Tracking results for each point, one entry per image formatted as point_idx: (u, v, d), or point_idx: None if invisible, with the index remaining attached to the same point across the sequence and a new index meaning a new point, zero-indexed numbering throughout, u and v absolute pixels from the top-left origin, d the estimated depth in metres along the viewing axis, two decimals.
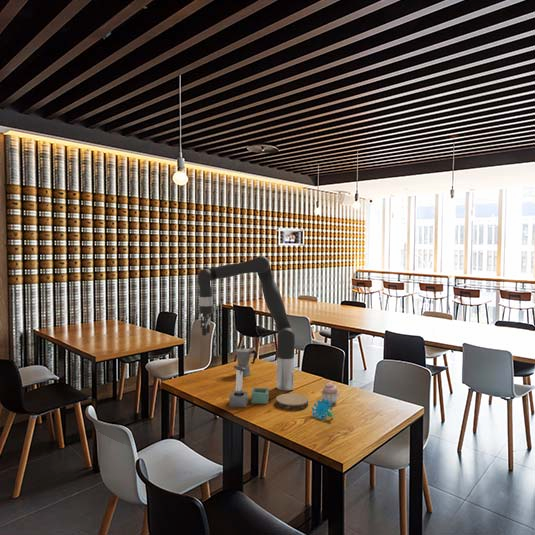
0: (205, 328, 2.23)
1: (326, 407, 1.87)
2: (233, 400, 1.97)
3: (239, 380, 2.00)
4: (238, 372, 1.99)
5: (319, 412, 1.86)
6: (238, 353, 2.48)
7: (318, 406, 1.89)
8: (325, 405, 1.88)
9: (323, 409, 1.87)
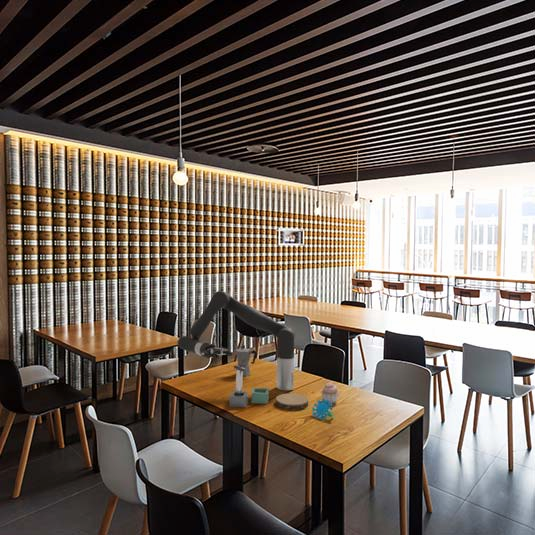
0: (212, 353, 2.08)
1: (326, 407, 1.87)
2: (233, 400, 1.97)
3: (239, 380, 2.00)
4: (238, 372, 1.99)
5: (319, 412, 1.87)
6: (238, 353, 2.48)
7: (318, 406, 1.89)
8: (325, 405, 1.88)
9: (323, 409, 1.87)
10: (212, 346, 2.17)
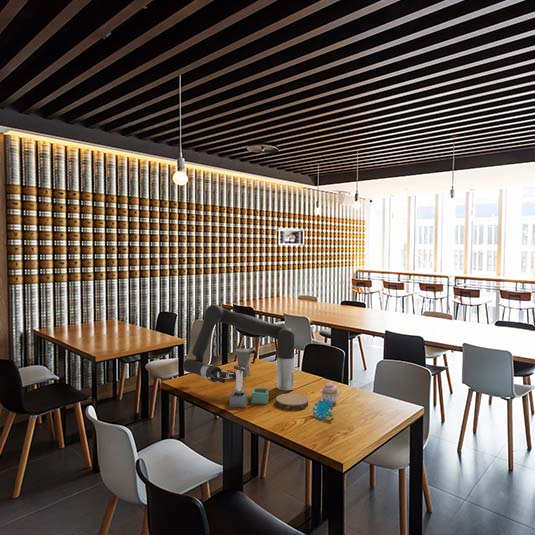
0: (218, 377, 2.04)
1: (327, 407, 1.87)
2: (233, 400, 1.97)
3: (239, 380, 2.00)
4: (238, 372, 1.99)
5: (320, 412, 1.87)
6: (238, 353, 2.48)
7: (319, 406, 1.89)
8: (326, 405, 1.88)
9: (324, 409, 1.87)
10: (218, 369, 2.14)
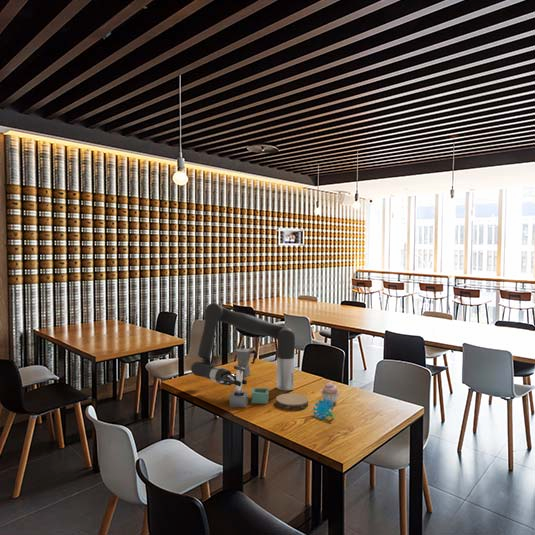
0: (234, 380, 2.00)
1: (327, 407, 1.87)
2: (233, 400, 1.97)
3: (239, 380, 2.00)
4: (238, 372, 1.99)
5: (320, 412, 1.87)
6: (238, 353, 2.48)
7: (319, 406, 1.89)
8: (326, 405, 1.88)
9: (324, 409, 1.87)
10: (228, 372, 2.09)
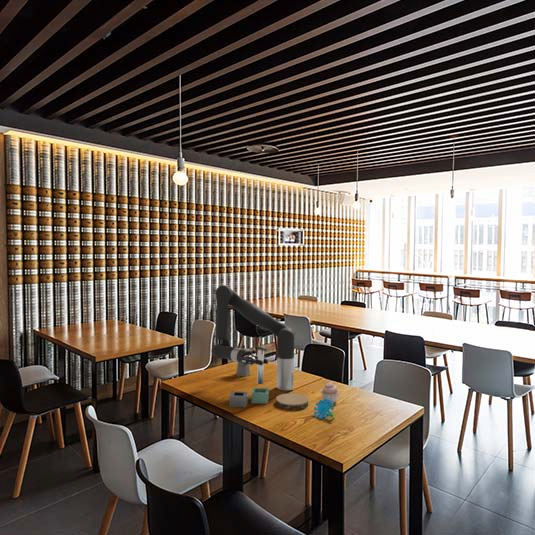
0: (255, 360, 2.05)
1: (327, 407, 1.87)
2: (233, 400, 1.97)
3: (261, 359, 2.05)
4: (260, 352, 2.05)
5: (320, 412, 1.87)
6: None
7: (320, 406, 1.90)
8: (327, 405, 1.88)
9: (324, 409, 1.87)
10: (249, 353, 2.14)
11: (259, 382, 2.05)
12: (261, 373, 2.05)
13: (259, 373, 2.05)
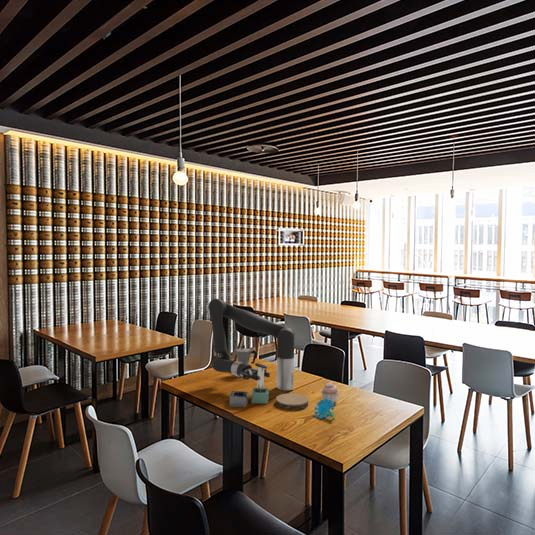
0: (251, 375, 2.05)
1: (328, 407, 1.87)
2: (233, 400, 1.97)
3: (261, 377, 2.05)
4: (260, 369, 2.05)
5: (321, 411, 1.87)
6: (238, 353, 2.48)
7: (320, 405, 1.90)
8: (327, 405, 1.88)
9: (325, 409, 1.87)
10: (249, 367, 2.14)
11: None
12: (261, 390, 2.06)
13: (259, 390, 2.06)
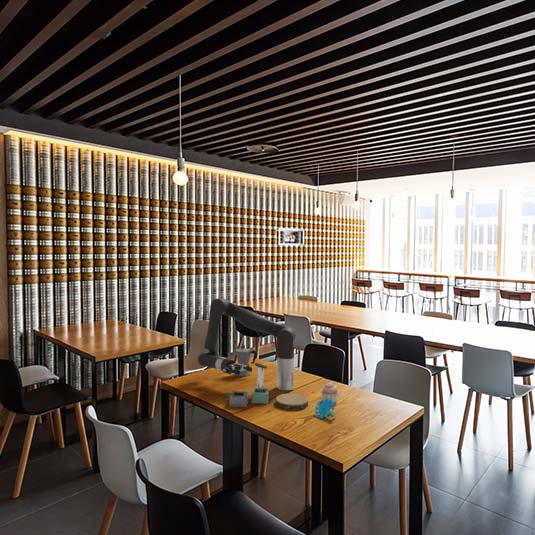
0: (233, 369, 2.13)
1: (328, 407, 1.87)
2: (233, 400, 1.97)
3: (261, 377, 2.05)
4: (259, 369, 2.05)
5: (321, 411, 1.87)
6: (238, 353, 2.48)
7: (321, 405, 1.90)
8: (328, 405, 1.88)
9: (325, 409, 1.87)
10: (233, 362, 2.23)
11: None
12: (261, 390, 2.06)
13: (259, 390, 2.06)
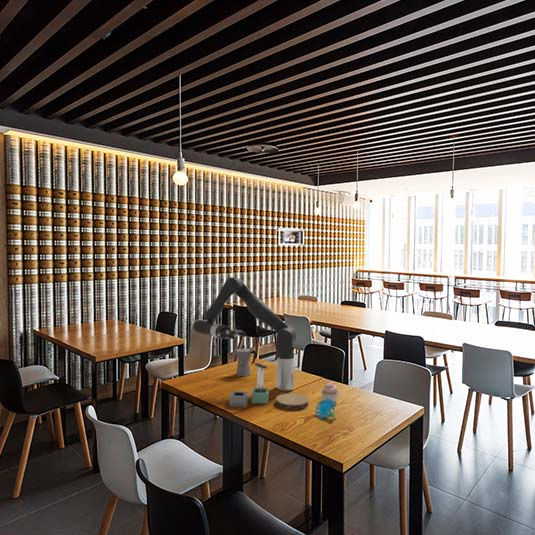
0: (227, 334, 2.18)
1: (329, 407, 1.87)
2: (233, 400, 1.97)
3: (261, 377, 2.05)
4: (259, 369, 2.05)
5: (322, 411, 1.88)
6: (238, 353, 2.48)
7: (322, 405, 1.90)
8: (328, 405, 1.88)
9: (326, 408, 1.87)
10: (227, 328, 2.28)
11: None
12: (261, 390, 2.06)
13: (259, 390, 2.06)
